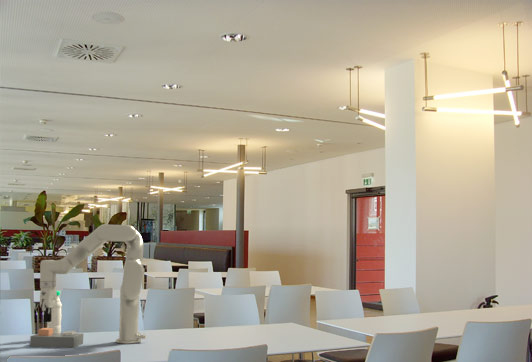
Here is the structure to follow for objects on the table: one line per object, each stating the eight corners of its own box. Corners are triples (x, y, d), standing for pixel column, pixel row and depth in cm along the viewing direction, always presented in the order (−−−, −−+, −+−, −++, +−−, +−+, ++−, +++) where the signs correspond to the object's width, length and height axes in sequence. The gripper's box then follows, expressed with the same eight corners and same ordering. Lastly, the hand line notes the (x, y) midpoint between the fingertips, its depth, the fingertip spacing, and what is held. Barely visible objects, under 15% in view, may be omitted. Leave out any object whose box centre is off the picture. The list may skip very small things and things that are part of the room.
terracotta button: (52, 338, 307) (53, 328, 307) (48, 339, 302) (48, 329, 302) (42, 337, 307) (43, 327, 308) (38, 339, 302) (38, 329, 303)
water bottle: (56, 340, 316) (57, 291, 318) (43, 340, 318) (45, 291, 320) (63, 338, 323) (64, 290, 325) (51, 338, 324) (52, 290, 327)
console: (83, 343, 309) (83, 333, 309) (73, 347, 297) (73, 337, 297) (41, 342, 311) (41, 332, 311) (30, 346, 299) (30, 336, 299)
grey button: (75, 341, 306) (76, 331, 306) (71, 343, 300) (72, 333, 301) (65, 341, 306) (66, 331, 306) (61, 343, 301) (61, 332, 301)
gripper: (48, 285, 299) (48, 323, 298) (61, 283, 314) (61, 319, 312) (34, 286, 300) (33, 324, 298) (47, 283, 315) (47, 319, 313)
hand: (47, 321), depth 305 cm, fingers closed
